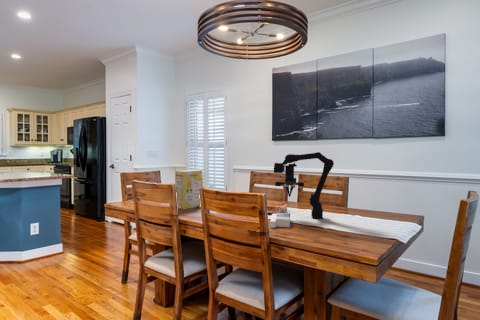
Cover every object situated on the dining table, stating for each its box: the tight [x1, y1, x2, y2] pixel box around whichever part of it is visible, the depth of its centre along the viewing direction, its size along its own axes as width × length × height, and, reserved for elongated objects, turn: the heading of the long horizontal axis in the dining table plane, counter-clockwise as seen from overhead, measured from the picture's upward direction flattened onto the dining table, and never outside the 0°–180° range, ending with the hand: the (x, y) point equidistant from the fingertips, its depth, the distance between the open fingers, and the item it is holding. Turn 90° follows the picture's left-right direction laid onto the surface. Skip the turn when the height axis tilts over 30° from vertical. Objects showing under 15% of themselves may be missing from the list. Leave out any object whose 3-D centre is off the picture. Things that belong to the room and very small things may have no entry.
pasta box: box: [174, 169, 203, 210], centre depth 243 cm, size 18×10×28 cm, turn 138°
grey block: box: [275, 216, 291, 228], centre depth 185 cm, size 8×8×4 cm
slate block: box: [276, 212, 291, 218], centre depth 194 cm, size 8×8×4 cm
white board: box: [269, 213, 277, 228], centre depth 189 cm, size 3×22×4 cm, turn 170°
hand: (289, 196), depth 208 cm, fingers closed
